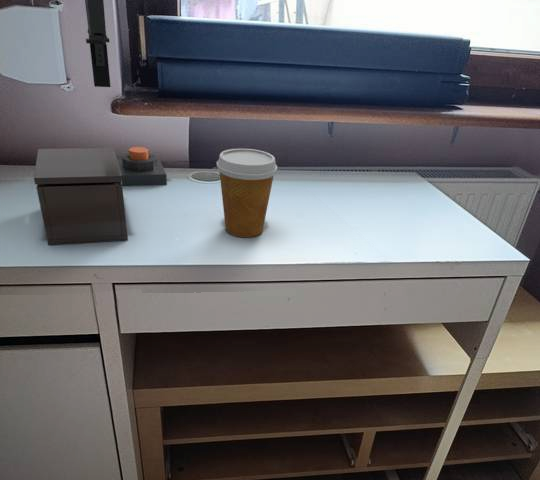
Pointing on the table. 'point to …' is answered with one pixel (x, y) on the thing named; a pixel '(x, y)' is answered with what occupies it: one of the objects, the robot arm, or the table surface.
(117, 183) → the dark brown box
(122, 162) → the block
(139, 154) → the button
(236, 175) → the disposable coffee cup
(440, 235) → the table surface
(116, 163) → the grey box lid
